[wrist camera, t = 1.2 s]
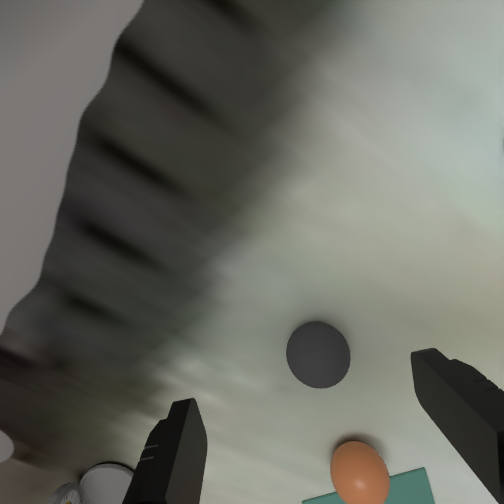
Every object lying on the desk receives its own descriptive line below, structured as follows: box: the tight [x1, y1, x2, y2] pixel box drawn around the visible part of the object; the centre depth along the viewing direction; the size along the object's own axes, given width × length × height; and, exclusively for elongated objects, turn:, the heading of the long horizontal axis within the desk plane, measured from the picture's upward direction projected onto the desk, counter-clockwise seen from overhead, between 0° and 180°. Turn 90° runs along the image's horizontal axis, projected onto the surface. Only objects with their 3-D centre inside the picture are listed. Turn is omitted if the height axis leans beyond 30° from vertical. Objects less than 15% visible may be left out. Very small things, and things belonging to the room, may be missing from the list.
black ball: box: [286, 322, 350, 388], centre depth 26 cm, size 6×6×6 cm
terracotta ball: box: [330, 441, 390, 504], centre depth 29 cm, size 6×6×6 cm
